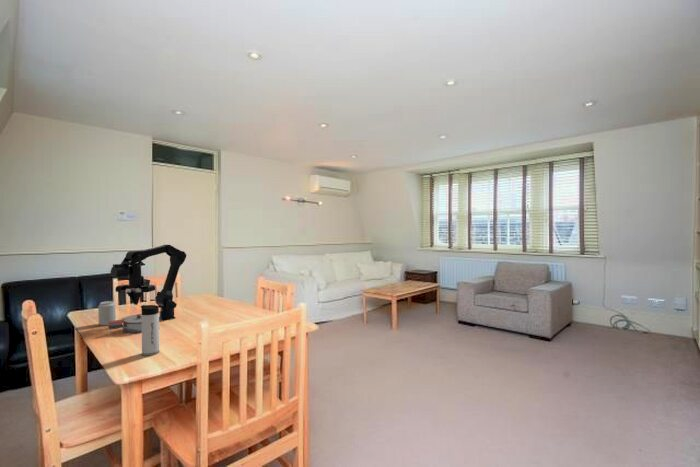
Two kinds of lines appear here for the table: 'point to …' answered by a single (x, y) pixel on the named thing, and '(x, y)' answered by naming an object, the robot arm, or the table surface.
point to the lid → (127, 320)
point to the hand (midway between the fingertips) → (136, 304)
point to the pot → (129, 327)
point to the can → (106, 312)
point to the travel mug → (150, 330)
